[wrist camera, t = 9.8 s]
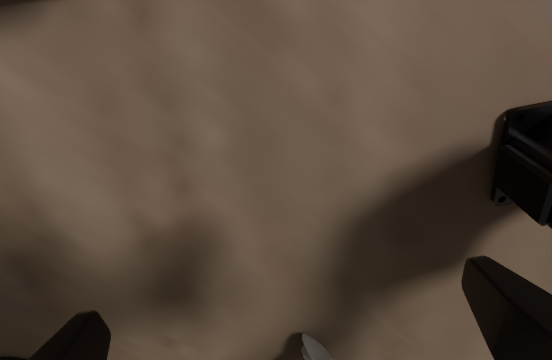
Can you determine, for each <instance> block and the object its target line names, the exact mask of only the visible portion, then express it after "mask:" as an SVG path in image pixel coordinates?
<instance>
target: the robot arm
mask: <svg viewBox="0 0 552 360" xmlns="http://www.w3.org/2000/svg"><path fill="white" fill-rule="evenodd" d="M518 115H520V116H519V118H517V119H516V117H517V116H518ZM515 119H516V120H515ZM490 199H491V201H492V202H493V203H494V204H495V205H497V206H501V205H507V204H512V203H515V204H516V205H518V206H519V207H520V208H521V209H522V210H523V211H524V212H526V213H527V214H528V215H529V216H530V217H531V218H532V219H534V220H535V221H536V222H537V223H538V224H540V225H541V226H545V225H548V226H549V227H550V228H551V229H552V101H548V102H543V103H538V104H532V105H527V106H522V107H517V108H514V109H512V110H511V111H510V112H509V113H508V114H507V117H506V120H505V126H504V131H503V136H502V141H501V146H500V149H499V153H498V158H497V164H496V169H495V174H494V179H493V186H492V191H491V197H490ZM461 283H462V289H463V292H464V294H465V296H466V299H467V301H468V303H469V305H470V308H471V310H472V312H473V314H474V317H475V319H476V321H477V323H478V326H479V328H480V330H481V332H482V335H483V337H484V339H485V341H486V344H487V346H488V348H489V350H490V352H491V354H492V356H493V358H494V360H552V295H551V294H550V293H548V292H546V291H545V290H543V289H541V288H540V287H538V286H536V285H535V284H533V283H531V282H530V281H528V280H526V279H525V278H523V277H521V276H519V275H518V274H516V273H514V272H513V271H511V270H509V269H508V268H506V267H504V266H503V265H501V264H499V263H498V262H496V261H494V260H493V259H491V258H489V257H487V256H477V257H470V258H468V259H467V260H466V261H465V266H464V271H463V276H462V282H461ZM110 340H111V333H110V329H109V328H108V326H107V325H106V323H105V322H104V320H103V319H102V317H101V316H100V314H99V313H98V312H97V311H95V310H91V311H84V312H79V313H77V314H76V315H75V316H74V317H72V318H71V319H70V320H69V321H68V322H67V323H66V324H65V325H64V326H63V327H62V328H61V329H60V330H59V331H58V332H57V333H56V334H54V335H53V336H52V337H51V338H50V339H49V340H48V341H47V342H46V343H45V344H44V345H43V346H42V347H41V348H40V349H39V350H38V351H36V352H35V353H34V354H33V355H32V356H31V357H30V358H29V359H28V360H107V356H108V351H109V346H110Z"/></svg>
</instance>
